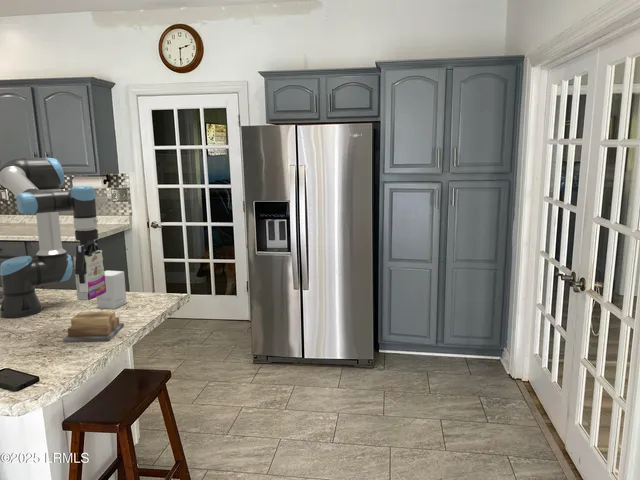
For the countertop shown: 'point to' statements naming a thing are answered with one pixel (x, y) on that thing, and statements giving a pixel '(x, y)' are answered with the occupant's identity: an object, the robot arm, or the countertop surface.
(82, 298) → the candy bar box
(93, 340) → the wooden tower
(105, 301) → the supplement box
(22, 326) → the countertop surface
